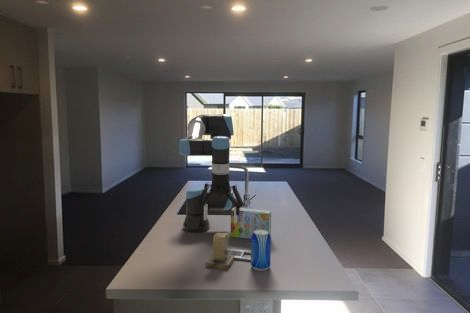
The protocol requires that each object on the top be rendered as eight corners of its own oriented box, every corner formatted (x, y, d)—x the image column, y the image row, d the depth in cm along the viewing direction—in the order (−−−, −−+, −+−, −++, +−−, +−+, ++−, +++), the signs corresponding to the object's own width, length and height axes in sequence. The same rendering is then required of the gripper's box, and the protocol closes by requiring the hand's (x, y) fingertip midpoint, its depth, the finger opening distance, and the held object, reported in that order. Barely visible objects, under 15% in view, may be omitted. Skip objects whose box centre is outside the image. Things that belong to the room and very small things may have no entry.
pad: (205, 266, 152) (205, 262, 152) (213, 257, 162) (213, 253, 161) (228, 269, 150) (228, 264, 149) (234, 259, 159) (234, 255, 159)
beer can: (249, 263, 156) (250, 228, 154) (268, 262, 157) (269, 228, 154) (252, 272, 148) (252, 235, 145) (271, 271, 148) (272, 235, 146)
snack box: (271, 238, 187) (271, 210, 185) (268, 241, 181) (269, 213, 179) (233, 233, 193) (233, 206, 191) (229, 236, 188) (230, 209, 186)
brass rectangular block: (213, 260, 154) (213, 236, 152) (216, 255, 158) (216, 232, 157) (224, 261, 152) (224, 237, 151) (227, 257, 157) (227, 233, 156)
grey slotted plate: (216, 257, 162) (216, 255, 162) (222, 249, 170) (222, 247, 170) (260, 262, 157) (260, 260, 157) (264, 254, 165) (264, 252, 165)
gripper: (190, 172, 150) (190, 220, 153) (247, 176, 143) (246, 226, 147) (196, 169, 157) (196, 215, 160) (251, 172, 151) (250, 220, 154)
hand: (220, 220), depth 153 cm, fingers open, 13 cm apart
